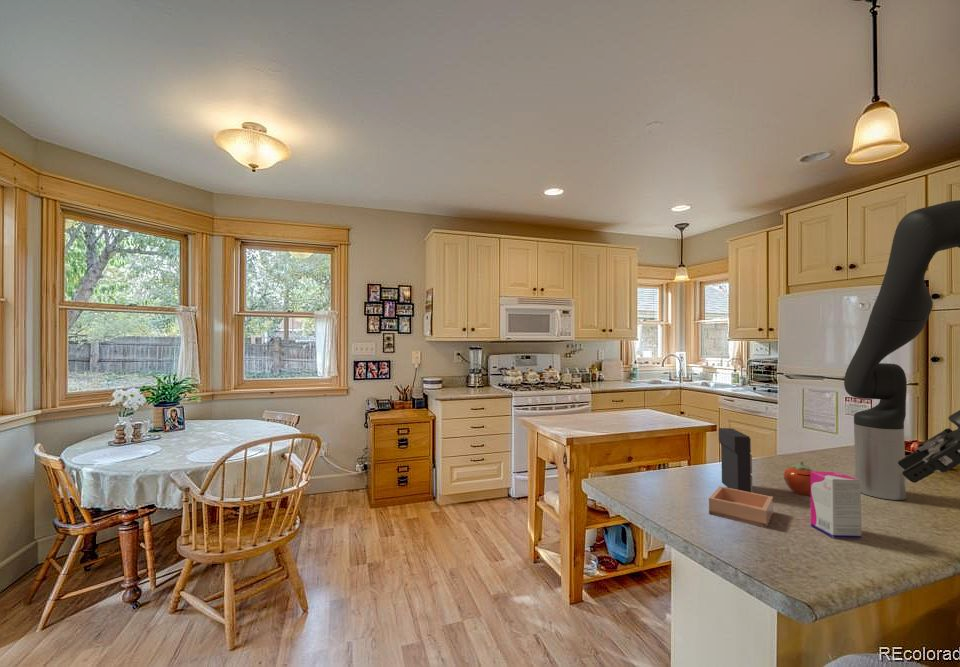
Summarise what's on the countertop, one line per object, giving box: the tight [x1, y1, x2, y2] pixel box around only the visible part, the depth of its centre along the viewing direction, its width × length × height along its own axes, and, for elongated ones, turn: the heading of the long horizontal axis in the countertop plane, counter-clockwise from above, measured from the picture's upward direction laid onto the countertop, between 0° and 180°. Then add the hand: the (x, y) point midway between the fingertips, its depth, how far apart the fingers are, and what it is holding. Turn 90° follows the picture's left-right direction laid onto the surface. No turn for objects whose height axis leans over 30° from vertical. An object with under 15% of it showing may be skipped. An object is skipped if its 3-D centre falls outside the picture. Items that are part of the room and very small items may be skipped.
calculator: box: [718, 427, 754, 493], centre depth 108 cm, size 11×4×15 cm, turn 168°
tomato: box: [782, 460, 814, 496], centre depth 106 cm, size 7×7×8 cm
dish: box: [708, 485, 774, 529], centre depth 92 cm, size 11×11×4 cm
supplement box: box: [810, 470, 862, 539], centre depth 83 cm, size 6×6×12 cm
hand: (904, 472), depth 77 cm, fingers open, 8 cm apart
